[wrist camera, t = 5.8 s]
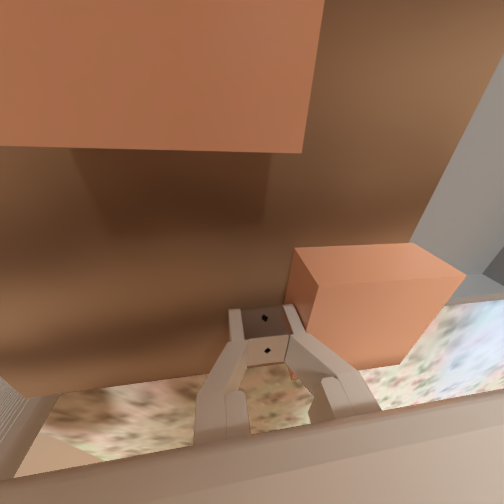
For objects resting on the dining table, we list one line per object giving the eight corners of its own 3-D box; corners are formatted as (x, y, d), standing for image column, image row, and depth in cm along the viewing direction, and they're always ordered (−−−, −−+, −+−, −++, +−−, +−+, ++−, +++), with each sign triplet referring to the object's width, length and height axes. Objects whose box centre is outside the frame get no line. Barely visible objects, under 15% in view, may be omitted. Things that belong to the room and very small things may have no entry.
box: (434, -115, 9) (556, -246, 6) (717, -41, 12) (902, -101, 9) (320, 287, 22) (339, 316, 19) (474, 274, 25) (514, 298, 22)
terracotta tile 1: (294, 247, 9) (318, 286, 7) (413, 242, 10) (467, 275, 8) (278, 335, 12) (291, 380, 10) (369, 325, 13) (399, 364, 11)
